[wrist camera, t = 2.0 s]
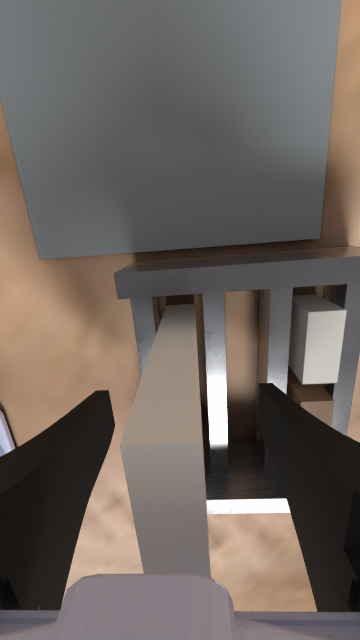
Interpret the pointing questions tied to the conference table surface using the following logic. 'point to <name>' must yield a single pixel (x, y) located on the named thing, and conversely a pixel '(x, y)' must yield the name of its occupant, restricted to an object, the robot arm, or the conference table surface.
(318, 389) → the offcut walnut
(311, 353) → the offcut grey
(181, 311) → the sheet
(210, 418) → the rack
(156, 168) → the mat
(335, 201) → the conference table surface
